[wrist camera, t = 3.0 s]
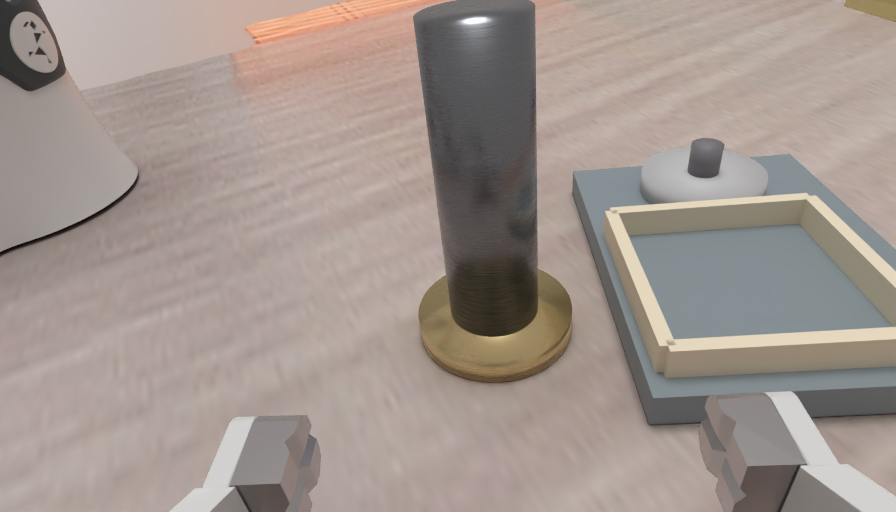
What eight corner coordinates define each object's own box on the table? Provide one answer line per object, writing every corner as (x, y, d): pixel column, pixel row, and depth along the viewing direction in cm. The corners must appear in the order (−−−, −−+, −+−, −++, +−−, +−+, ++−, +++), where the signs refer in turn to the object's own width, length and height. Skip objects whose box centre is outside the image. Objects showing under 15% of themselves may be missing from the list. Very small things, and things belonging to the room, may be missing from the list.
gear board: (648, 424, 21) (662, 342, 19) (572, 192, 36) (574, 129, 33) (1017, 407, 20) (1083, 318, 18) (783, 176, 35) (802, 109, 32)
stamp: (417, 386, 24) (352, 50, 16) (425, 284, 30) (381, 0, 22) (583, 378, 23) (603, 26, 15) (559, 276, 29) (565, -20, 21)
